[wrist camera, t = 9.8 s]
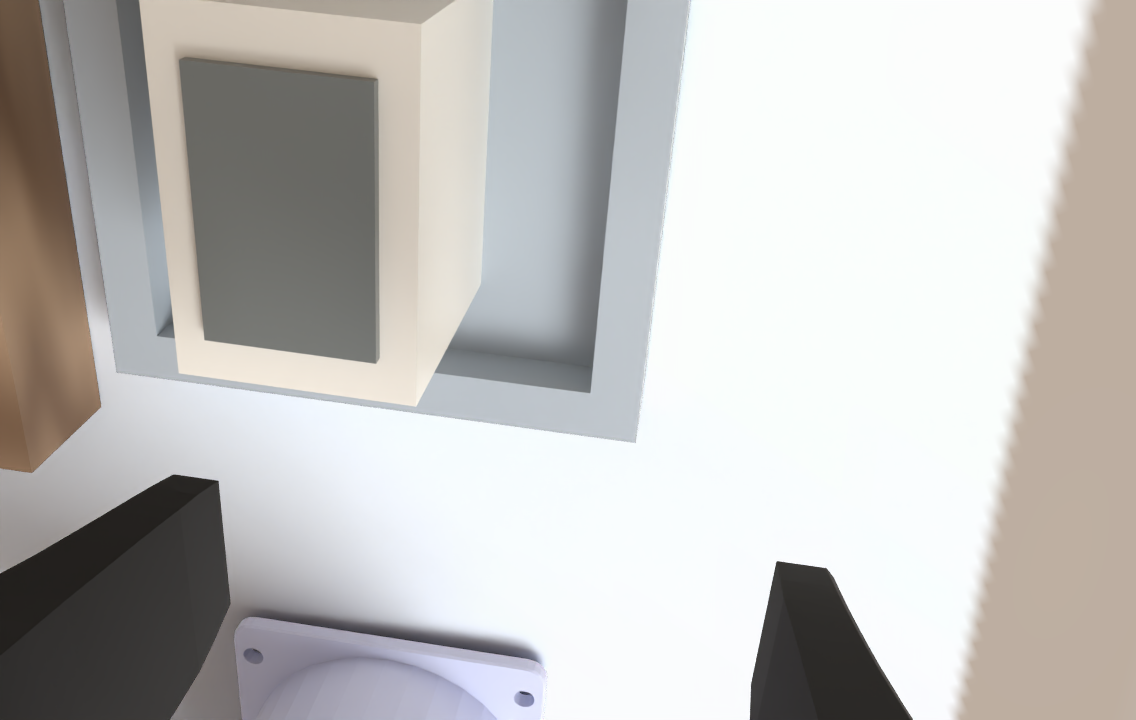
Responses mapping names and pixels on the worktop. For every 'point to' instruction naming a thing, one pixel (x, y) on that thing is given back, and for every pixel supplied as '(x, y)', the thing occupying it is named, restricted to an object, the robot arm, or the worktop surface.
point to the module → (320, 185)
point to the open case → (37, 260)
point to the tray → (511, 211)
